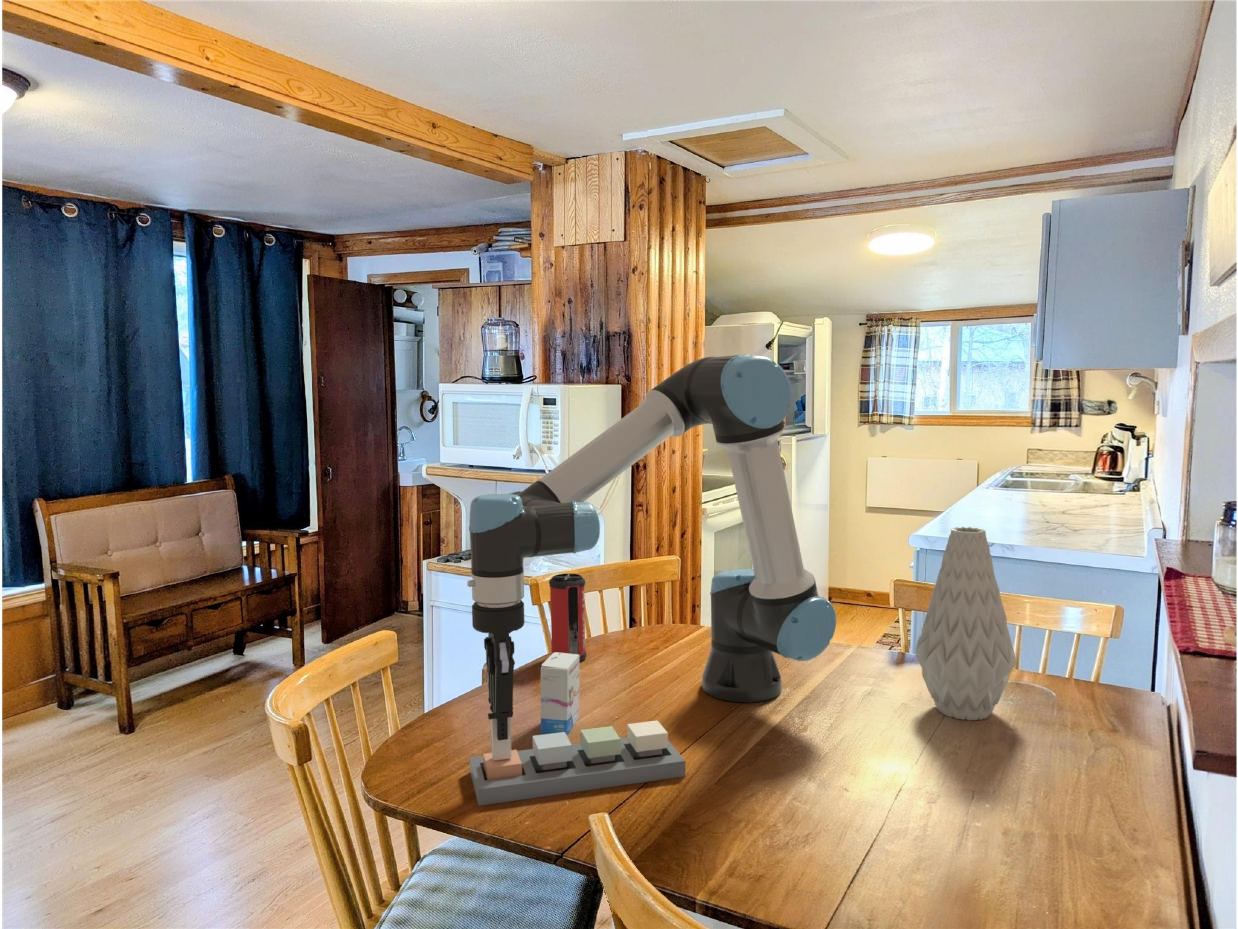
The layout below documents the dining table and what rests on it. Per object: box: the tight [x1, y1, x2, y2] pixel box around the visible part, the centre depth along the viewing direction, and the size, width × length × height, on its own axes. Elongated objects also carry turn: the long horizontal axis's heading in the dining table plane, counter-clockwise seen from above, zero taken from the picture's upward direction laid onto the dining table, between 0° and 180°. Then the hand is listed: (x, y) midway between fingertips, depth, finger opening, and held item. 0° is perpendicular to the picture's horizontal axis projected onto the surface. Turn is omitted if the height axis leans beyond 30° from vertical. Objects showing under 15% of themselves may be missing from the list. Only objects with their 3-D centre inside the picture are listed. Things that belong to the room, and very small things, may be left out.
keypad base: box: [469, 736, 686, 807], centre depth 131 cm, size 31×11×2 cm, turn 106°
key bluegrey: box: [532, 732, 573, 771], centre depth 129 cm, size 5×5×4 cm
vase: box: [914, 526, 1018, 721], centre depth 152 cm, size 17×17×33 cm
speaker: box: [548, 572, 587, 662], centre depth 184 cm, size 8×8×18 cm
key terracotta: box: [482, 749, 522, 780], centre depth 128 cm, size 5×5×4 cm
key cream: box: [626, 720, 669, 758], centre depth 133 cm, size 5×5×4 cm
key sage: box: [580, 725, 621, 764], centre depth 131 cm, size 5×5×4 cm
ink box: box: [540, 652, 580, 736], centre depth 149 cm, size 9×5×12 cm, turn 168°
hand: (501, 757), depth 127 cm, fingers closed
